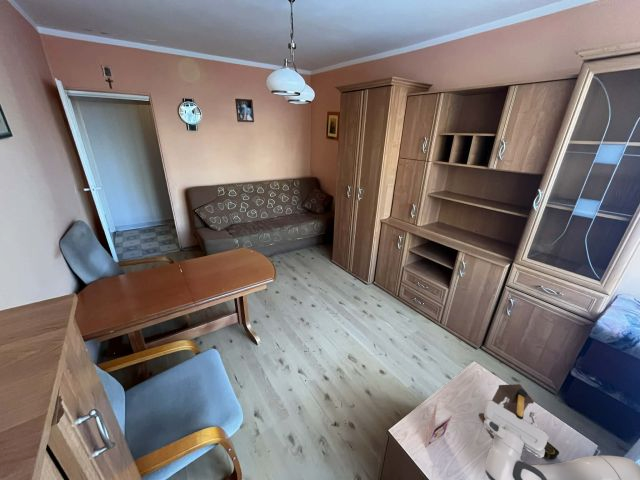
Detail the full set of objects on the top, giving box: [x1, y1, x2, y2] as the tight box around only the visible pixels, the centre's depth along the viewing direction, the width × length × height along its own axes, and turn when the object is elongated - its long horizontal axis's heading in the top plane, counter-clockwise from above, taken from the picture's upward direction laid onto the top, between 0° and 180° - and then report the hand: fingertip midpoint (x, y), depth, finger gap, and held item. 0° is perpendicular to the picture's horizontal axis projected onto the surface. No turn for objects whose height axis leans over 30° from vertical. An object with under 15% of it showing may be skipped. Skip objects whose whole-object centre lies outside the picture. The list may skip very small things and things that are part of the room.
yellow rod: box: [515, 388, 529, 420], centre depth 107 cm, size 13×3×4 cm, turn 142°
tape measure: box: [543, 440, 560, 461], centre depth 114 cm, size 7×7×4 cm
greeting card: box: [424, 403, 453, 448], centre depth 115 cm, size 11×7×15 cm, turn 117°
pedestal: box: [478, 383, 535, 439], centre depth 119 cm, size 10×12×24 cm
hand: (520, 405), depth 106 cm, fingers open, 7 cm apart
